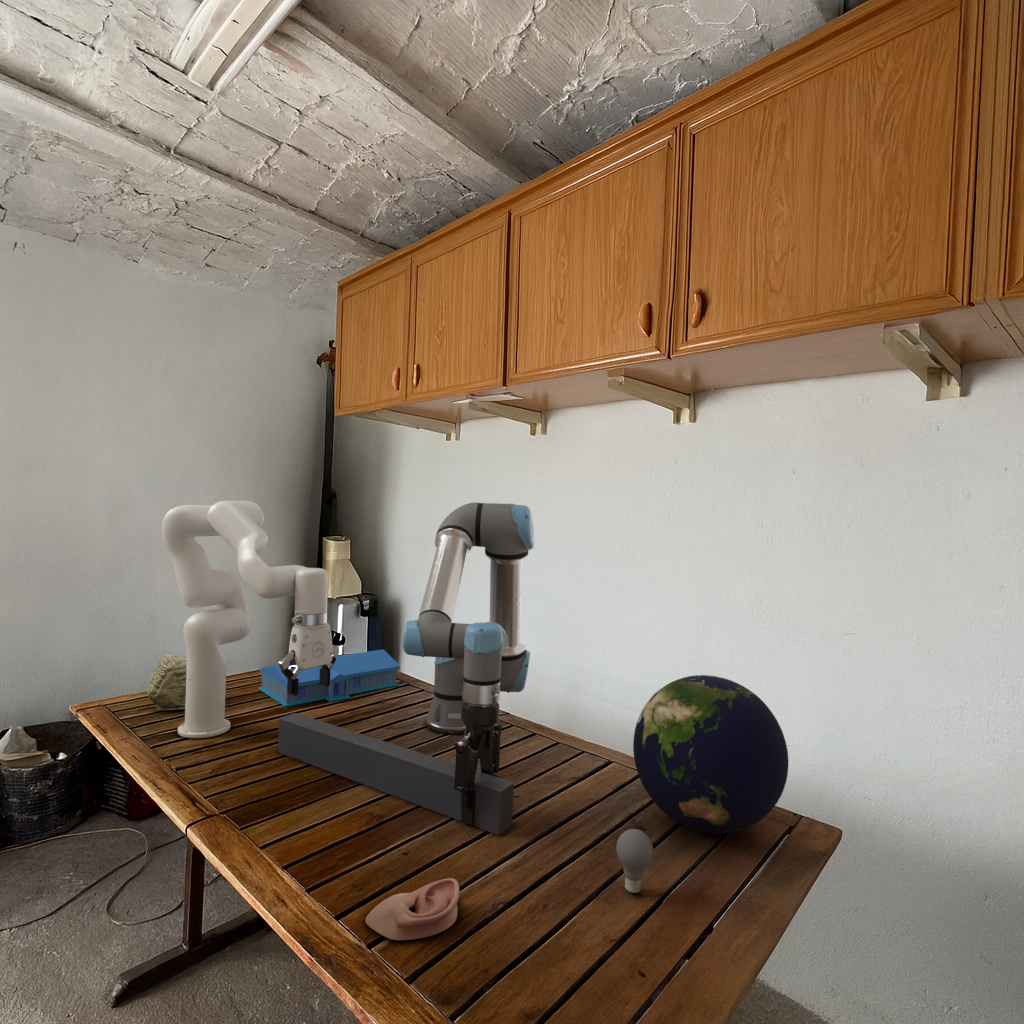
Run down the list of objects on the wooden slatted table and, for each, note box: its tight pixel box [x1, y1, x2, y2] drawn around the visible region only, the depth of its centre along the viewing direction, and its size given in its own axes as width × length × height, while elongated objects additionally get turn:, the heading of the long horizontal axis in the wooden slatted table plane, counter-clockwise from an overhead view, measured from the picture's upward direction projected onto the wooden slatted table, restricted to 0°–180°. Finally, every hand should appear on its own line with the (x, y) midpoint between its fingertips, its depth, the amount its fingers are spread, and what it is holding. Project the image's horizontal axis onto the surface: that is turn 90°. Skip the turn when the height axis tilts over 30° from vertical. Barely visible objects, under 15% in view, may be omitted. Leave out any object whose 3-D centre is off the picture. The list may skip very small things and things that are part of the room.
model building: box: [258, 649, 401, 707], centre depth 208 cm, size 39×24×10 cm, turn 132°
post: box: [277, 712, 515, 836], centre depth 141 cm, size 65×5×8 cm, turn 58°
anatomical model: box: [365, 877, 460, 942], centre depth 97 cm, size 13×4×12 cm
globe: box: [632, 674, 789, 835], centre depth 129 cm, size 30×30×30 cm
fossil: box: [147, 654, 187, 712], centre depth 185 cm, size 9×18×15 cm, turn 132°
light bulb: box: [615, 828, 654, 894], centre depth 106 cm, size 6×6×10 cm
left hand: (309, 689), depth 154 cm, fingers open, 9 cm apart
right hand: (475, 816), depth 127 cm, fingers closed on post, 5 cm apart
